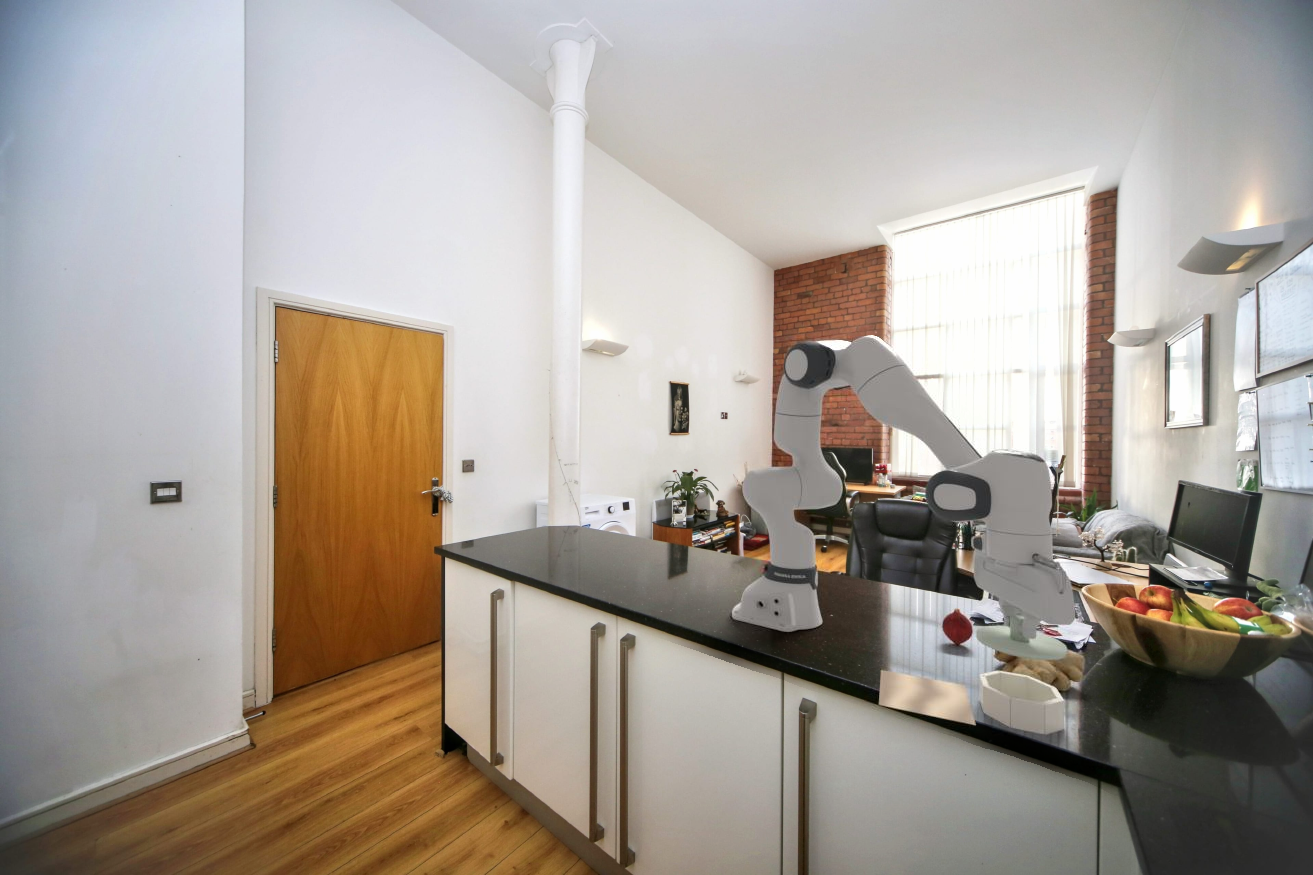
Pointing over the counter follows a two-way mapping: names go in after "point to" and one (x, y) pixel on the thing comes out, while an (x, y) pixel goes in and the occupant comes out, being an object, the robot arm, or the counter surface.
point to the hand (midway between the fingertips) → (1019, 632)
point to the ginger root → (1046, 668)
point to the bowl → (1022, 702)
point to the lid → (1021, 642)
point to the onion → (957, 627)
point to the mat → (925, 697)
